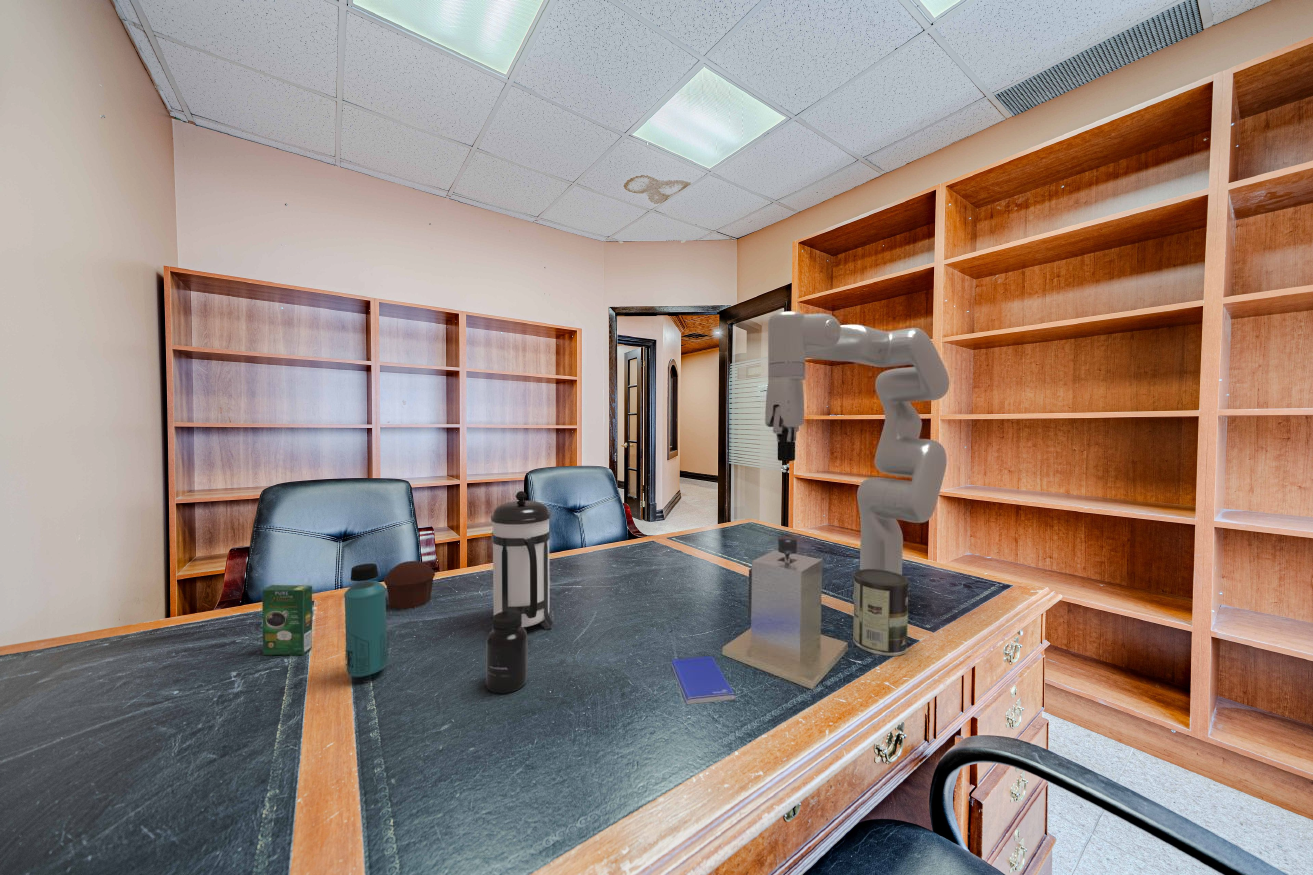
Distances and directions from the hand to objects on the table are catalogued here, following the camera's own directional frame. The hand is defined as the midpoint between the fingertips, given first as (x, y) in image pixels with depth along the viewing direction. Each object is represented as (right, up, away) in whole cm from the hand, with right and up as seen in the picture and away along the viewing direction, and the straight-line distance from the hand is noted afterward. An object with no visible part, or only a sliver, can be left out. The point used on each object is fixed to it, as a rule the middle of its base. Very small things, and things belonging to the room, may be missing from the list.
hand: (786, 460), depth 99 cm
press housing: (-2, -38, -6) cm, 38 cm away
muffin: (-89, -37, +18) cm, 98 cm away
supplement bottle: (-53, -38, -17) cm, 68 cm away
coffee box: (-100, -38, -7) cm, 107 cm away
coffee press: (-57, -37, +5) cm, 68 cm away
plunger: (-2, -32, -6) cm, 32 cm away
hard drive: (-20, -39, -16) cm, 46 cm away
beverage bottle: (-79, -38, -15) cm, 89 cm away
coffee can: (+18, -38, -2) cm, 42 cm away
